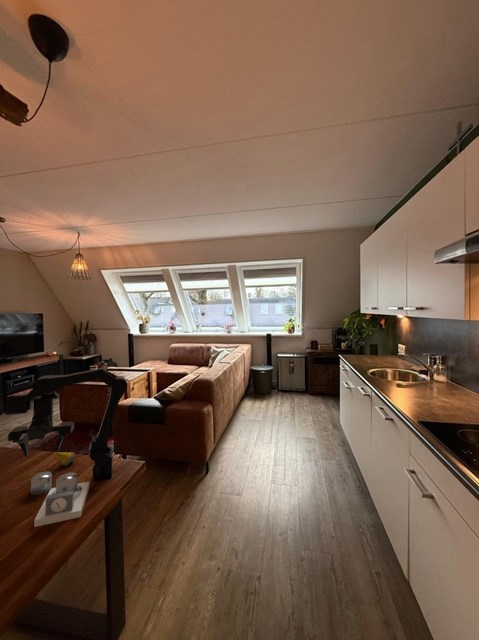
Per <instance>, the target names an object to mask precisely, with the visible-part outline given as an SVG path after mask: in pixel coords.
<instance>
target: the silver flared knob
mask: <svg viewBox="0 0 479 640" xmlns="http://www.w3.org/2000/svg"><path fill="white" fill-rule="evenodd" d="M52 480H53V474H52V471H42V472H38V473H36V474H34V475H33V476H32V477H31V478H30V495H32V496H40V495H43V494H45V493H47V492H49V491H50V490H51V488H53V486H52V485H53V483H52Z"/></svg>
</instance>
